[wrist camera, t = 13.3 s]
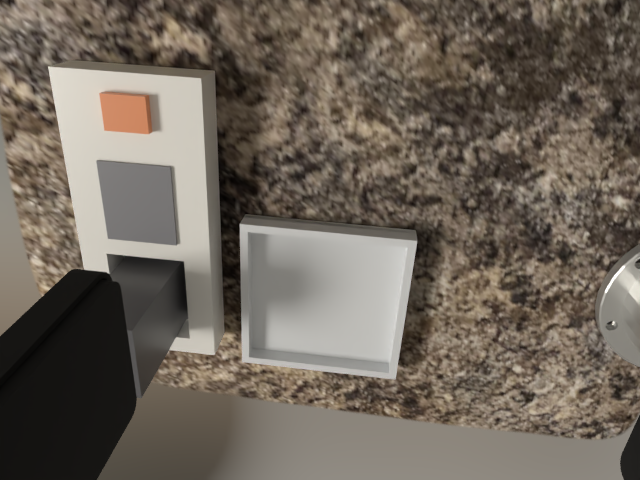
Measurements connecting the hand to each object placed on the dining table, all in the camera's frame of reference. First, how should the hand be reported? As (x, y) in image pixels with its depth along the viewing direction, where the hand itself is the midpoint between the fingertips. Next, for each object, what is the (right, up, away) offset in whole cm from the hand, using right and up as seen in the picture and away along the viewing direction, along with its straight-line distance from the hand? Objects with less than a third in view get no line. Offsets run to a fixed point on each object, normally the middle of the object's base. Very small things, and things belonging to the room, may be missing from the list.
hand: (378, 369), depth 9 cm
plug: (-14, -1, +33) cm, 36 cm away
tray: (-1, -2, +33) cm, 33 cm away
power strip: (-14, +4, +31) cm, 34 cm away
